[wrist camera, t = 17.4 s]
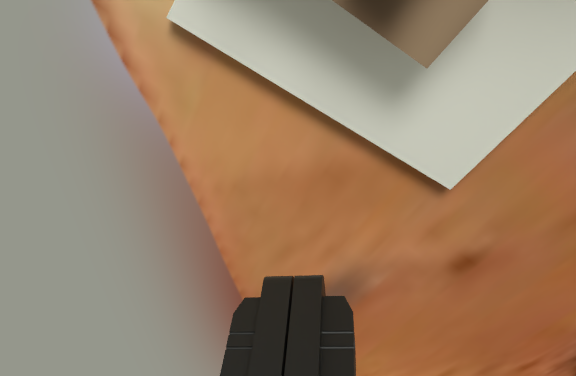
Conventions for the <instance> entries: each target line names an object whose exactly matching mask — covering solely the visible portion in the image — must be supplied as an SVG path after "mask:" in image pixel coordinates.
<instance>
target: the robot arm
mask: <svg viewBox="0 0 576 376" xmlns="http://www.w3.org/2000/svg"><path fill="white" fill-rule="evenodd" d="M220 376H356V358H355V338H354V321H353V311H352V309H351V308H350V306H349V304H348V302H347V300H346V298H345V297H344V296H326V294H325V284H324V277H323V275H311V276H295V277H293V276H272V277H265V278H264V281H263V286H262V292H261V297H257V298H244V300H243V301H242V302H241V304H240V305H239V307H238V308H237V310H236V311H235V312H234V314H233V318H232V323H231V327H230V335H229V336H228V341H227V346H226V350H225V355H224V359H223V364H222V369H221V374H220Z"/></svg>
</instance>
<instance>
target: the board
mask: <svg viewBox="0 0 576 376" xmlns="http://www.w3.org/2000/svg"><path fill="white" fill-rule="evenodd" d="M167 18H168V19H169V20H171V21H173V22H174V23H176V24H177V25H179V26H181V27H182V28H184V29H186V30H187V31H189V32H191V33H192V34H194V35H196V36H197V37H199V38H201V39H202V40H204V41H206V42H207V43H209V44H210V45H212V46H214V47H215V48H217V49H219V50H220V51H222V52H224V53H225V54H227V55H229V56H230V57H232V58H234V59H235V60H237V61H239V62H240V63H242V64H243V65H245V66H247V67H248V68H250V69H252V70H253V71H255V72H257V73H258V74H260V75H262V76H263V77H265V78H267V79H268V80H270V81H272V82H273V83H275V84H276V85H278V86H280V87H281V88H283V89H285V90H286V91H288V92H290V93H291V94H293V95H295V96H296V97H298V98H300V99H301V100H303V101H305V102H306V103H308V104H310V105H311V106H313V107H314V108H316V109H318V110H319V111H321V112H323V113H324V114H326V115H328V116H329V117H331V118H333V119H334V120H336V121H338V122H339V123H341V124H343V125H344V126H346V127H347V128H349V129H351V130H352V131H354V132H356V133H357V134H359V135H361V136H362V137H364V138H366V139H367V140H369V141H371V142H372V143H374V144H376V145H377V146H379V147H380V148H382V149H384V150H385V151H387V152H389V153H390V154H392V155H394V156H395V157H397V158H399V159H400V160H402V161H404V162H405V163H407V164H409V165H410V166H412V167H413V168H415V169H417V170H418V171H420V172H422V173H423V174H425V175H427V176H428V177H430V178H432V179H433V180H435V181H437V182H438V183H440V184H442V185H443V186H445V187H447V188H448V189H450V190H451V189H452V188H453V187H454V186H455V185H456V184H457V183H458V182H459V181H460V180H461V179H462V178H463V177H464V176H465V175H466V174H467V173H468V172H470V171H471V170H472V169H473V168H474V167H475V166H476V165H477V164H478V163H479V162H480V161H481V160H482V159H483V158H484V157H485V156H486V155H487V154H489V153H490V152H491V151H492V150H493V149H494V148H495V147H496V146H497V145H498V144H499V143H500V142H501V141H502V140H503V139H504V138H505V137H506V136H507V135H509V134H510V133H511V132H512V131H513V130H514V129H515V128H516V127H517V126H518V125H519V124H520V123H521V122H522V121H523V120H524V119H525V118H526V117H528V116H529V115H530V114H531V113H532V112H533V111H534V110H535V109H536V108H537V107H538V106H539V105H540V104H541V103H542V102H543V101H544V100H545V99H547V98H548V97H549V96H550V95H551V94H552V93H553V92H554V91H555V90H556V89H557V88H558V87H559V86H560V85H561V84H562V83H563V82H564V81H565V80H567V79H568V78H569V77H570V76H571V75H572V74H573V73H574V72H575V71H576V0H488V2H487V3H486V4H485V5H484V6H483V7H482V8H481V9H480V10H479V12H478V13H477V14H476V15H475V16H474V17H473V18H472V19H471V20H470V22H469V23H468V24H467V25H466V26H465V27H464V28H463V29H462V30H461V32H460V33H459V34H458V35H457V36H456V37H455V38H454V39H453V40H452V42H451V43H450V44H449V45H448V46H447V47H446V48H445V49H444V50H443V52H442V53H441V54H440V55H439V56H438V57H437V58H436V59H435V60H434V62H433V63H432V64H431V65H430V66H429V67H428V68H425V67H424V66H422V65H421V64H420V63H418V62H417V61H415V60H414V59H413V58H411V57H410V56H409V55H407V54H406V53H404V52H403V51H402V50H400V49H399V48H397V47H396V46H395V45H393V44H392V43H391V42H389V41H388V40H386V39H385V38H384V37H382V36H381V35H379V34H378V33H377V32H375V31H374V30H373V29H371V28H370V27H368V26H367V25H366V24H364V23H363V22H361V21H360V20H359V19H357V18H356V17H355V16H353V15H352V14H350V13H349V12H348V11H346V10H345V9H343V8H342V7H341V6H339V5H338V4H337V3H335V2H334V1H332V0H175V1H174V3H173V5H172V7H171V9H170V11H169V13H168V15H167Z"/></svg>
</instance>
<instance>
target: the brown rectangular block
mask: <svg viewBox="0 0 576 376" xmlns="http://www.w3.org/2000/svg"><path fill="white" fill-rule="evenodd" d="M332 1H334V2H335V3H337V4H338V5H339V6H341V7H342V8H343V9H345V10H346V11H348V12H349V13H350V14H352V15H353V16H355V17H356V18H357V19H359V20H360V21H361V22H363V23H364V24H366V25H367V26H368V27H370V28H371V29H373V30H374V31H375V32H377V33H378V34H379V35H381V36H382V37H384V38H385V39H386V40H388V41H389V42H391V43H392V44H393V45H395V46H396V47H397V48H399V49H400V50H402V51H403V52H404V53H406V54H407V55H409V56H410V57H411V58H413V59H414V60H415V61H417V62H418V63H420V64H421V65H422V66H424V67H425V68H428V67H429V66H430V65H431V64H432V63H433V62H434V60H435V59H436V58H437V57H438V56H439V55H440V54H441V53H442V52H443V50H444V49H445V48H446V47H447V46H448V45H449V44H450V43H451V42H452V40H453V39H454V38H455V37H456V36H457V35H458V34H459V33H460V32H461V30H462V29H463V28H464V27H465V26H466V25H467V24H468V23H469V22H470V20H471V19H472V18H473V17H474V16H475V15H476V14H477V13H478V12H479V10H480V9H481V8H482V7H483V6H484V5H485V4H486V3H487V2H488V0H332Z"/></svg>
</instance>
